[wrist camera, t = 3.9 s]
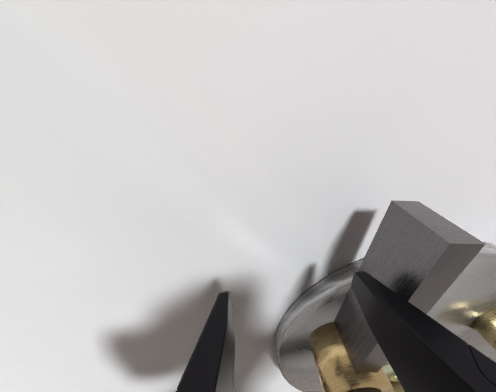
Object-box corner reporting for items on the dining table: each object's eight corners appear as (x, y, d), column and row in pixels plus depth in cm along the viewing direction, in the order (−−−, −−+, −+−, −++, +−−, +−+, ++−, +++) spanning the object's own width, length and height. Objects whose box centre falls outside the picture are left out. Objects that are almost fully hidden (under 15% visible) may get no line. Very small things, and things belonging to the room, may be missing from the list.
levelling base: (443, 386, 23) (493, 458, 19) (280, 404, 23) (290, 480, 19) (594, 222, 12) (817, 307, 7) (270, 258, 12) (291, 365, 7)
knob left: (352, 348, 14) (385, 422, 11) (303, 349, 14) (323, 425, 11) (444, 202, 9) (566, 270, 5) (364, 199, 8) (443, 269, 5)
